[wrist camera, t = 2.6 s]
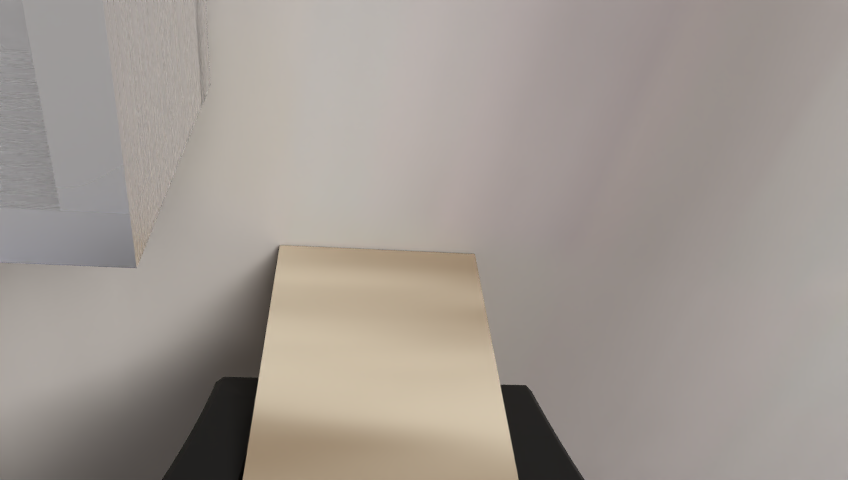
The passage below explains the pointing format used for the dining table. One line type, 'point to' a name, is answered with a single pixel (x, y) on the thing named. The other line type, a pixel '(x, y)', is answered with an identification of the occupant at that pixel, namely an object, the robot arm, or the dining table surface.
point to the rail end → (378, 371)
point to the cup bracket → (94, 123)
